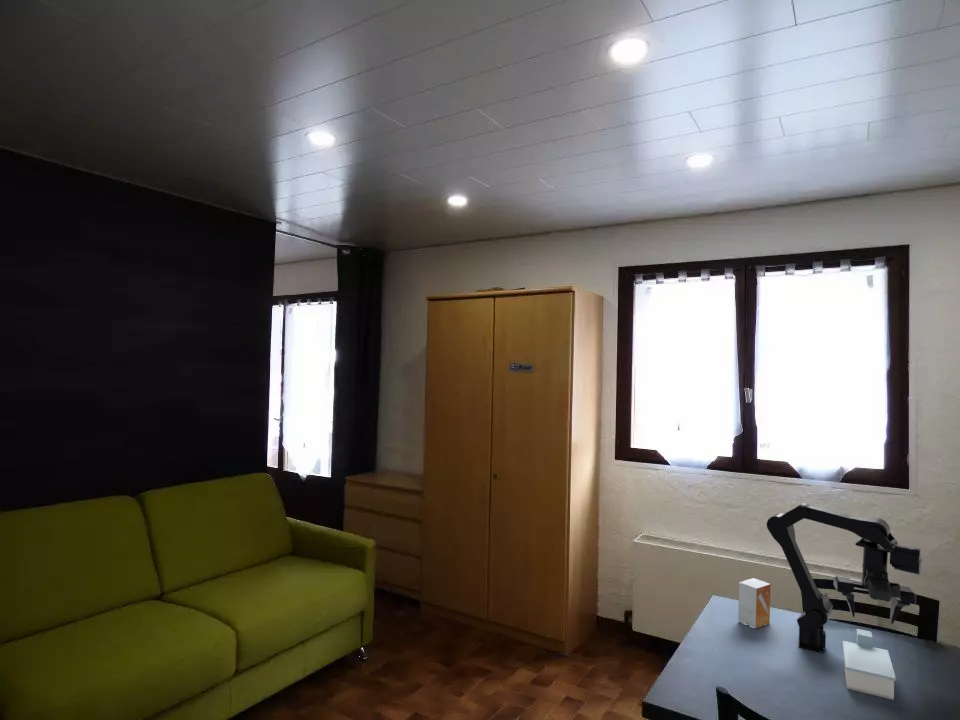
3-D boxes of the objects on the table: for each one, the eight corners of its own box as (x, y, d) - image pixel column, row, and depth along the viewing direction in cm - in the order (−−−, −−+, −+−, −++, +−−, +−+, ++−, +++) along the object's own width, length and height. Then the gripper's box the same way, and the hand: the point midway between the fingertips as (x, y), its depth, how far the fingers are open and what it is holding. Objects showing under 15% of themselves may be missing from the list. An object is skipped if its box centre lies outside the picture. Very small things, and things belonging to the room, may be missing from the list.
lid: (845, 669, 152) (846, 655, 152) (841, 637, 170) (842, 625, 170) (895, 681, 147) (895, 666, 147) (886, 647, 165) (886, 634, 165)
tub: (846, 688, 152) (847, 669, 152) (843, 661, 166) (843, 643, 166) (893, 700, 147) (894, 680, 147) (886, 671, 161) (886, 653, 161)
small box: (755, 629, 185) (756, 588, 185) (737, 622, 190) (738, 582, 191) (770, 624, 190) (771, 583, 190) (752, 616, 195) (752, 577, 195)
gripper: (842, 568, 161) (840, 625, 161) (924, 580, 154) (921, 639, 154) (834, 555, 171) (831, 609, 171) (911, 566, 164) (908, 621, 165)
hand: (872, 619), depth 165 cm, fingers open, 9 cm apart
